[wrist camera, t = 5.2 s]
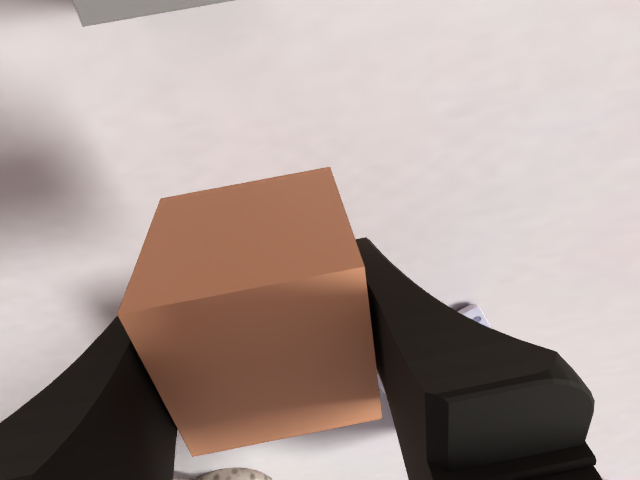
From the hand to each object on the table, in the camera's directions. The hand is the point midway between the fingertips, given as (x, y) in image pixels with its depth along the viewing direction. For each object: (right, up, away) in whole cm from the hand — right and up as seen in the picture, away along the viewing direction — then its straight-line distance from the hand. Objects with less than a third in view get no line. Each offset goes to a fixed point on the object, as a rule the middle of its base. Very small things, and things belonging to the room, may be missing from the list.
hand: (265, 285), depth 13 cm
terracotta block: (0, +1, +1) cm, 2 cm away
